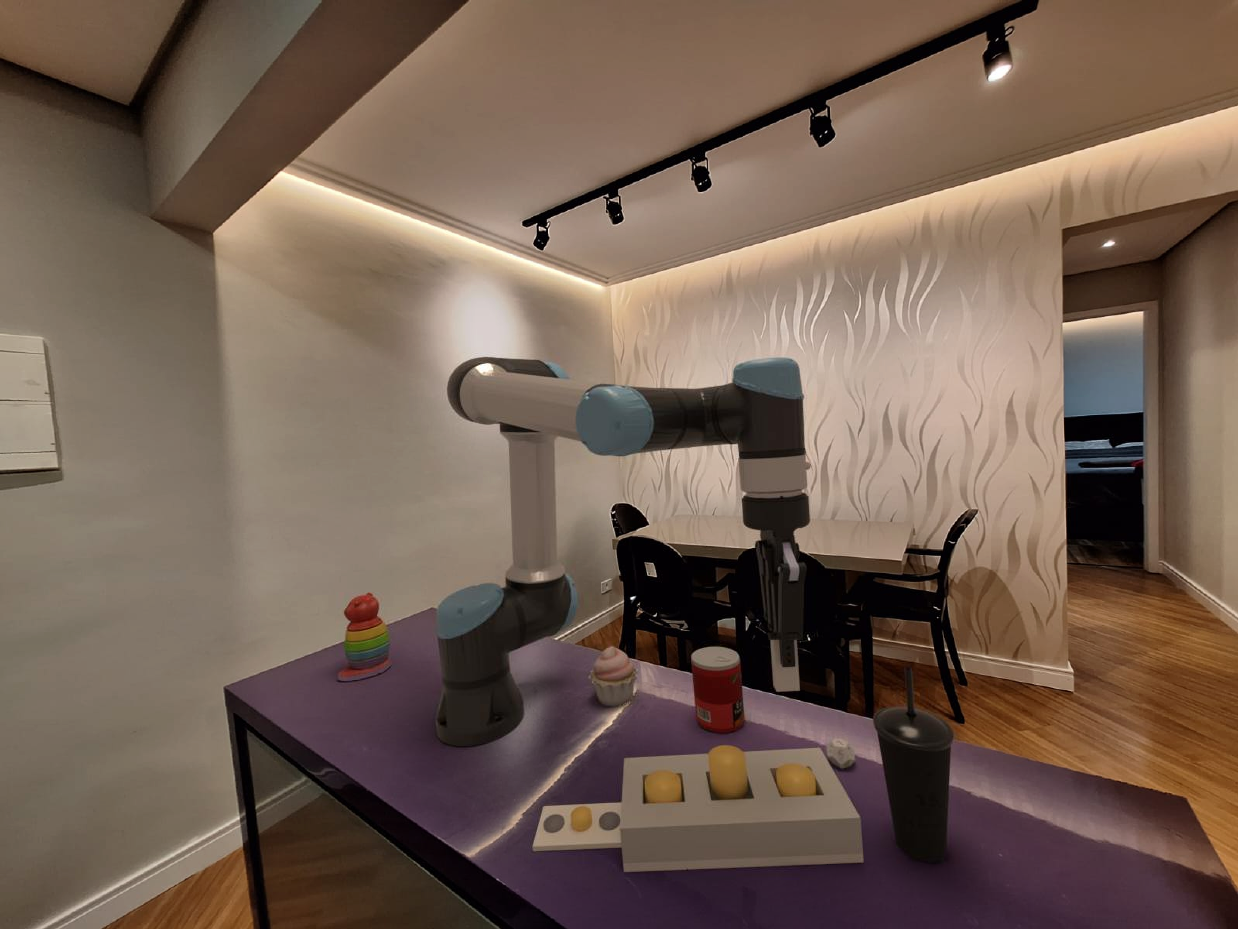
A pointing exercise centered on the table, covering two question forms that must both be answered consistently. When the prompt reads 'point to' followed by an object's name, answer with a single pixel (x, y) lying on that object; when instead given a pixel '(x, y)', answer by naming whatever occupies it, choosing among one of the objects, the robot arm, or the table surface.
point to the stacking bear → (365, 637)
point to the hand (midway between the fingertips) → (786, 687)
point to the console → (737, 817)
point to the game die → (840, 753)
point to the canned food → (718, 689)
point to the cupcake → (613, 677)
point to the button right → (795, 781)
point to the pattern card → (579, 827)
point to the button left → (663, 787)
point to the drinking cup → (916, 775)
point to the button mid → (728, 772)
